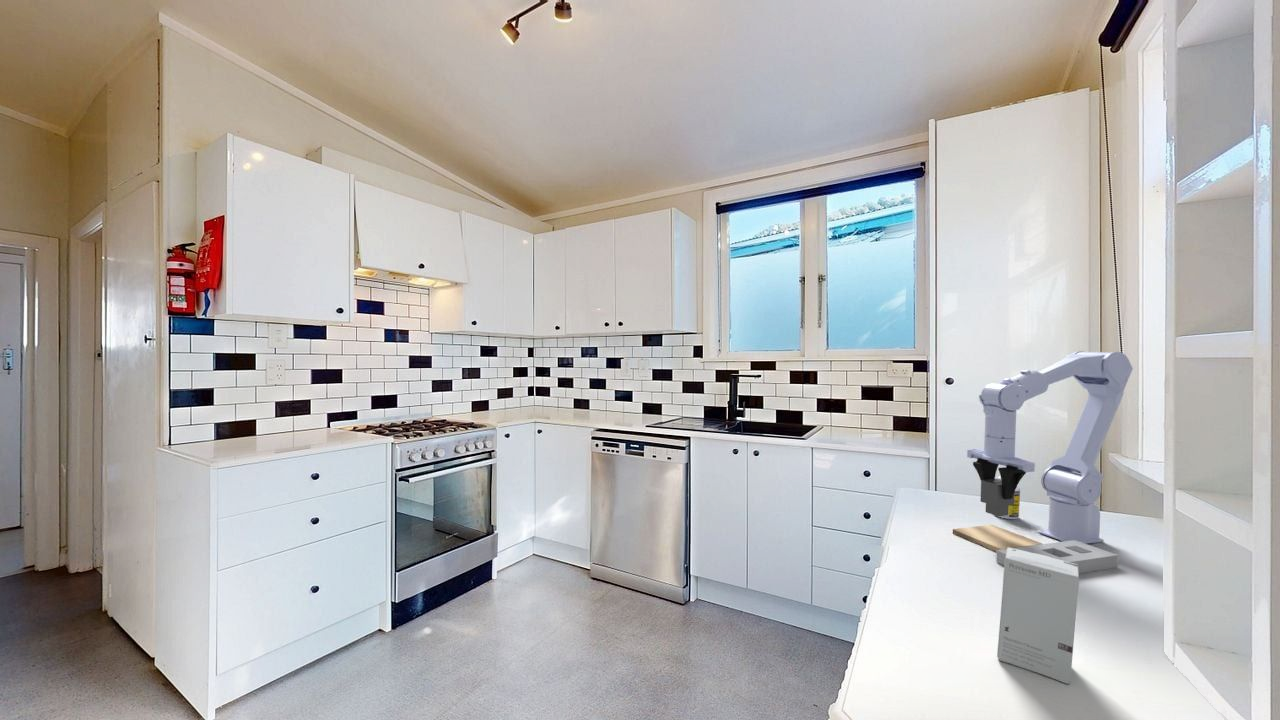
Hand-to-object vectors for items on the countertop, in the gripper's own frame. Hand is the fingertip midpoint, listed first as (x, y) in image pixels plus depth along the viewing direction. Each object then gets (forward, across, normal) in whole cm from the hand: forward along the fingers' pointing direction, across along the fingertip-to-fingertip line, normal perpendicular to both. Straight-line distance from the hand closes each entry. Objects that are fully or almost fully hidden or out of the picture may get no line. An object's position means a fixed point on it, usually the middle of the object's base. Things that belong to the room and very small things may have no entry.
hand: (997, 495), depth 115 cm
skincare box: (+11, +36, -37) cm, 53 cm away
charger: (+4, 0, 0) cm, 4 cm away
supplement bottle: (+11, -12, +18) cm, 24 cm away
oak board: (+10, 0, 0) cm, 10 cm away
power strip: (+10, +13, 0) cm, 17 cm away
